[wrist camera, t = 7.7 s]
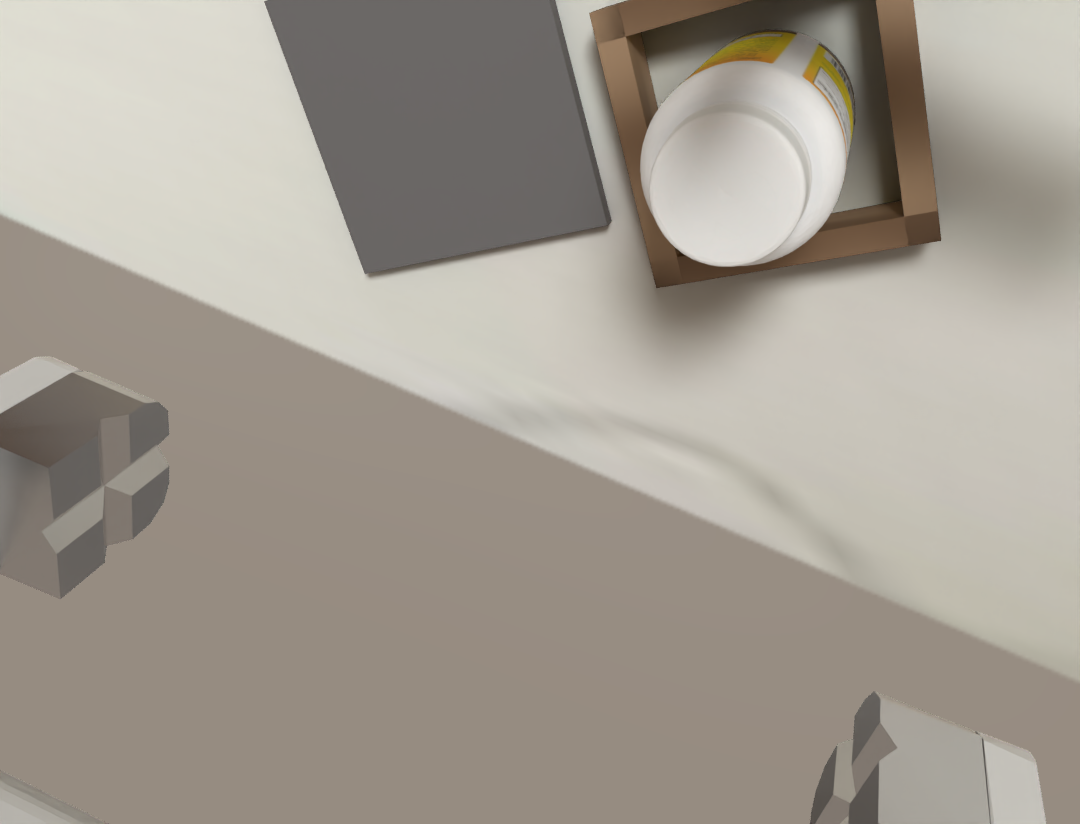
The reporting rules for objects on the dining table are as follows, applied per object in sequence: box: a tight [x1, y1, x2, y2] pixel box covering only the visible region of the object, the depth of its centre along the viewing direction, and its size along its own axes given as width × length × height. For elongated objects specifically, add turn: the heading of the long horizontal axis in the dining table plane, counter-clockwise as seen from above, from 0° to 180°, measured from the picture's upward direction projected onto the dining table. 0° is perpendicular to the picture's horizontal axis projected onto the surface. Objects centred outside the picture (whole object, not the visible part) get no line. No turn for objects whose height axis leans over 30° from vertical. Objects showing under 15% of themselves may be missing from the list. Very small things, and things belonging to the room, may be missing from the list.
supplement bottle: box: [640, 29, 855, 267], centre depth 28 cm, size 6×6×10 cm
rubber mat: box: [264, 0, 611, 274], centre depth 35 cm, size 11×11×1 cm
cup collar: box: [589, 0, 941, 288], centre depth 31 cm, size 10×10×2 cm
